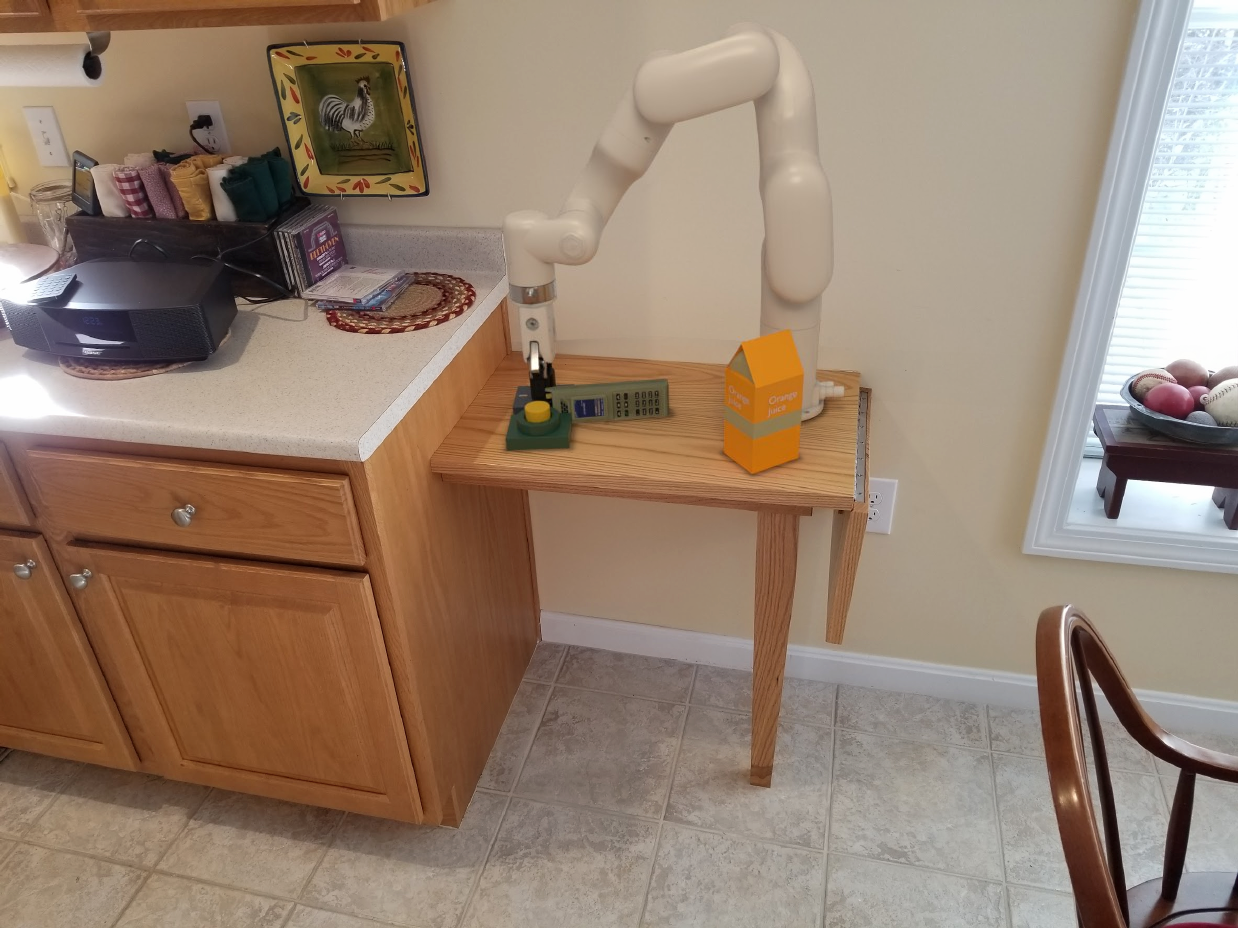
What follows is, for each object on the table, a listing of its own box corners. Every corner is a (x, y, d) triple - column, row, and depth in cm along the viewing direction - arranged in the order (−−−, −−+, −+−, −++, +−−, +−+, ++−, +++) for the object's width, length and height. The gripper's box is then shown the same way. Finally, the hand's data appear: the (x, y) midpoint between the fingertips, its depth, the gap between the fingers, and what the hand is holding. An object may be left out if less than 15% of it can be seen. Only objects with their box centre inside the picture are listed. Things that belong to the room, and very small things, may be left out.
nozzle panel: (575, 395, 160) (574, 382, 159) (572, 419, 153) (571, 405, 152) (519, 397, 161) (517, 384, 159) (513, 421, 153) (512, 407, 152)
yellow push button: (551, 411, 148) (550, 400, 147) (549, 423, 145) (548, 412, 144) (527, 412, 148) (525, 401, 147) (524, 424, 145) (523, 412, 144)
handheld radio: (669, 420, 152) (521, 431, 151) (667, 412, 155) (521, 422, 154) (669, 384, 149) (516, 395, 148) (666, 376, 152) (517, 386, 151)
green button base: (572, 424, 152) (570, 402, 149) (569, 448, 145) (567, 426, 143) (512, 426, 152) (510, 405, 150) (507, 450, 145) (504, 428, 143)
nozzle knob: (532, 389, 157) (530, 364, 155) (558, 389, 157) (555, 363, 155) (529, 401, 154) (527, 375, 151) (555, 400, 153) (553, 375, 151)
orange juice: (722, 452, 141) (724, 333, 131) (769, 436, 145) (774, 320, 134) (752, 474, 136) (756, 352, 125) (799, 458, 139) (807, 337, 128)
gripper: (551, 309, 138) (561, 414, 148) (560, 271, 153) (568, 369, 162) (503, 311, 139) (515, 416, 148) (515, 273, 153) (526, 371, 162)
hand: (542, 390), depth 155 cm, fingers closed on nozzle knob, 4 cm apart
